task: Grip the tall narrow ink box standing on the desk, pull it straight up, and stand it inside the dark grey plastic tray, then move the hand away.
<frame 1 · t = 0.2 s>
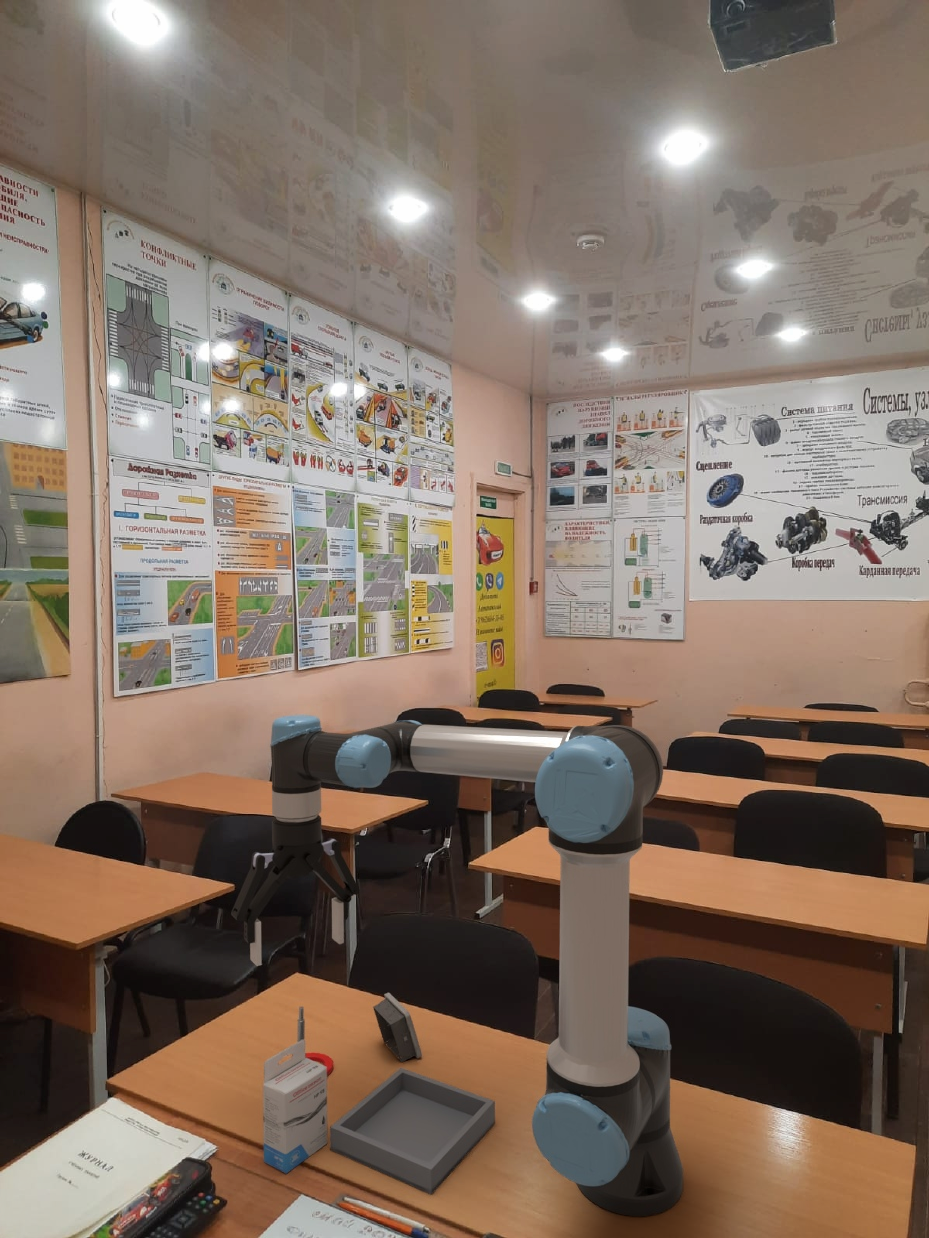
hand: (298, 951, 128), 27 cm above the table, tool pointing down, fingers open, 13 cm apart
ink box: (296, 1153, 121), on the table
tow hook: (308, 1072, 143), on the table
tray: (414, 1136, 125), on the table
electrical switch: (398, 1052, 149), on the table
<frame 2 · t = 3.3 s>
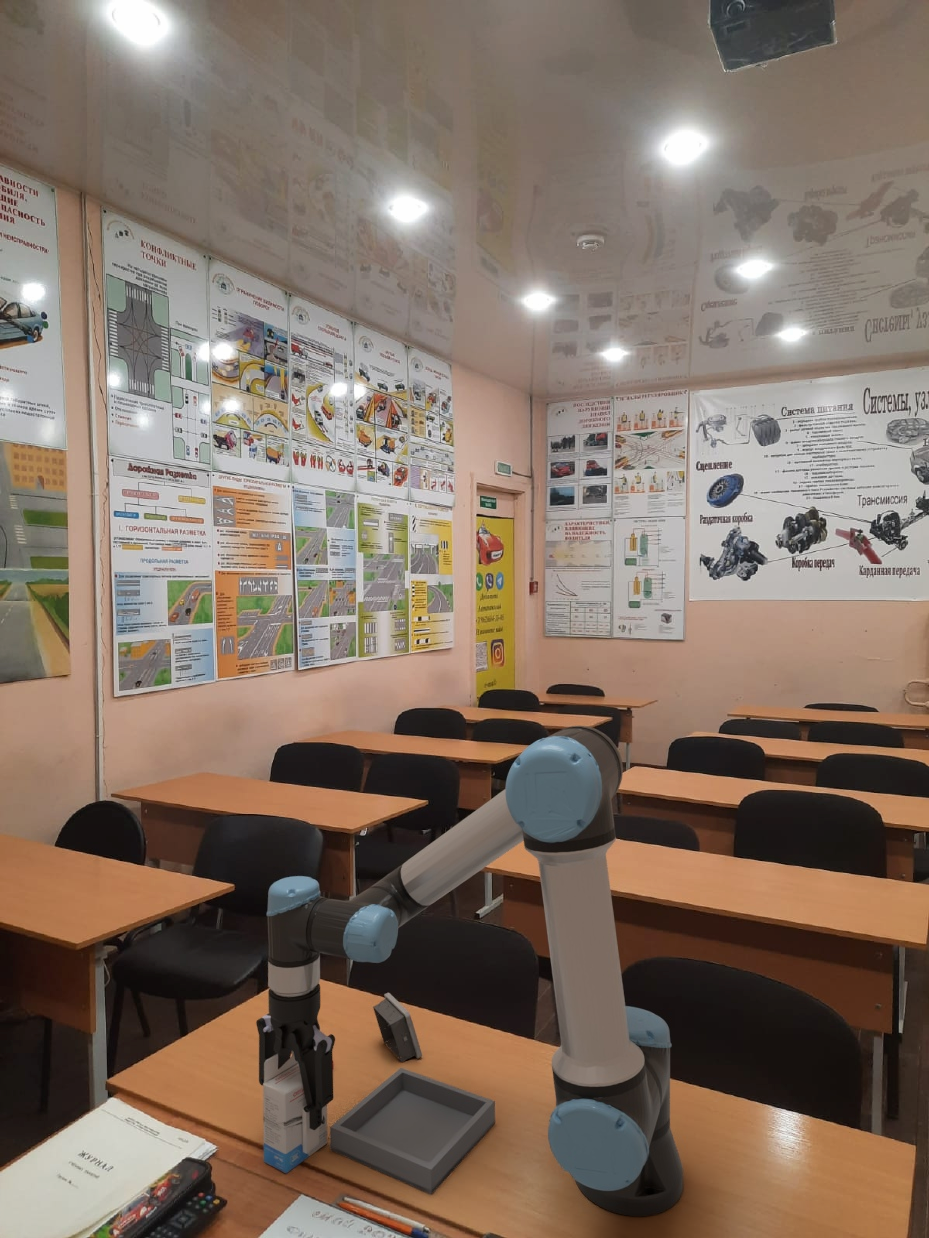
hand: (296, 1140, 121), 2 cm above the table, tool pointing down, fingers closed on ink box, 5 cm apart
ink box: (296, 1153, 121), on the table, touching gripper
everything else where it was.
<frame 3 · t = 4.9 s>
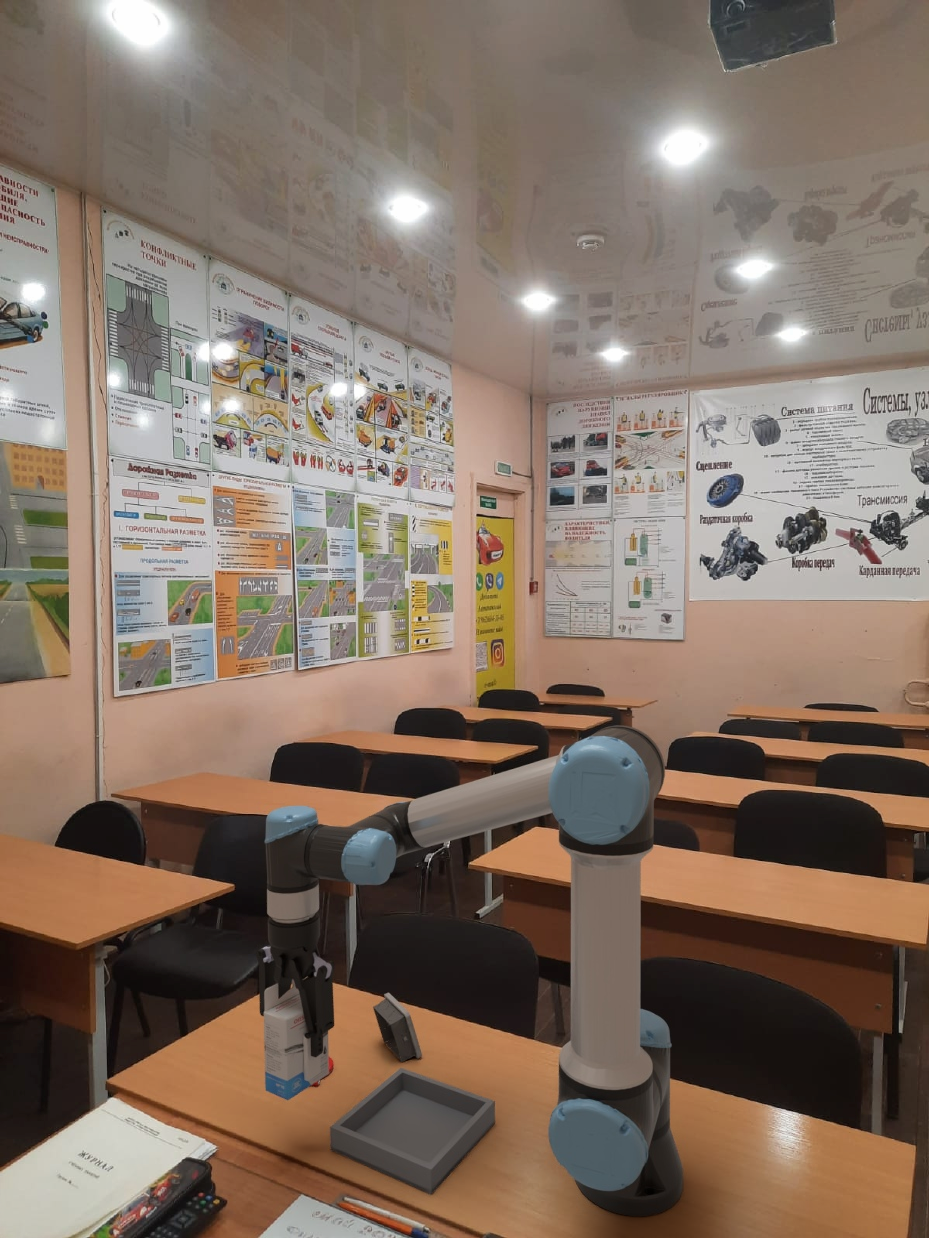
hand: (297, 1069, 121), 12 cm above the table, tool pointing down, fingers closed on ink box, 5 cm apart
ink box: (298, 1083, 121), point 10 cm above the table, touching gripper
everything else where it was.
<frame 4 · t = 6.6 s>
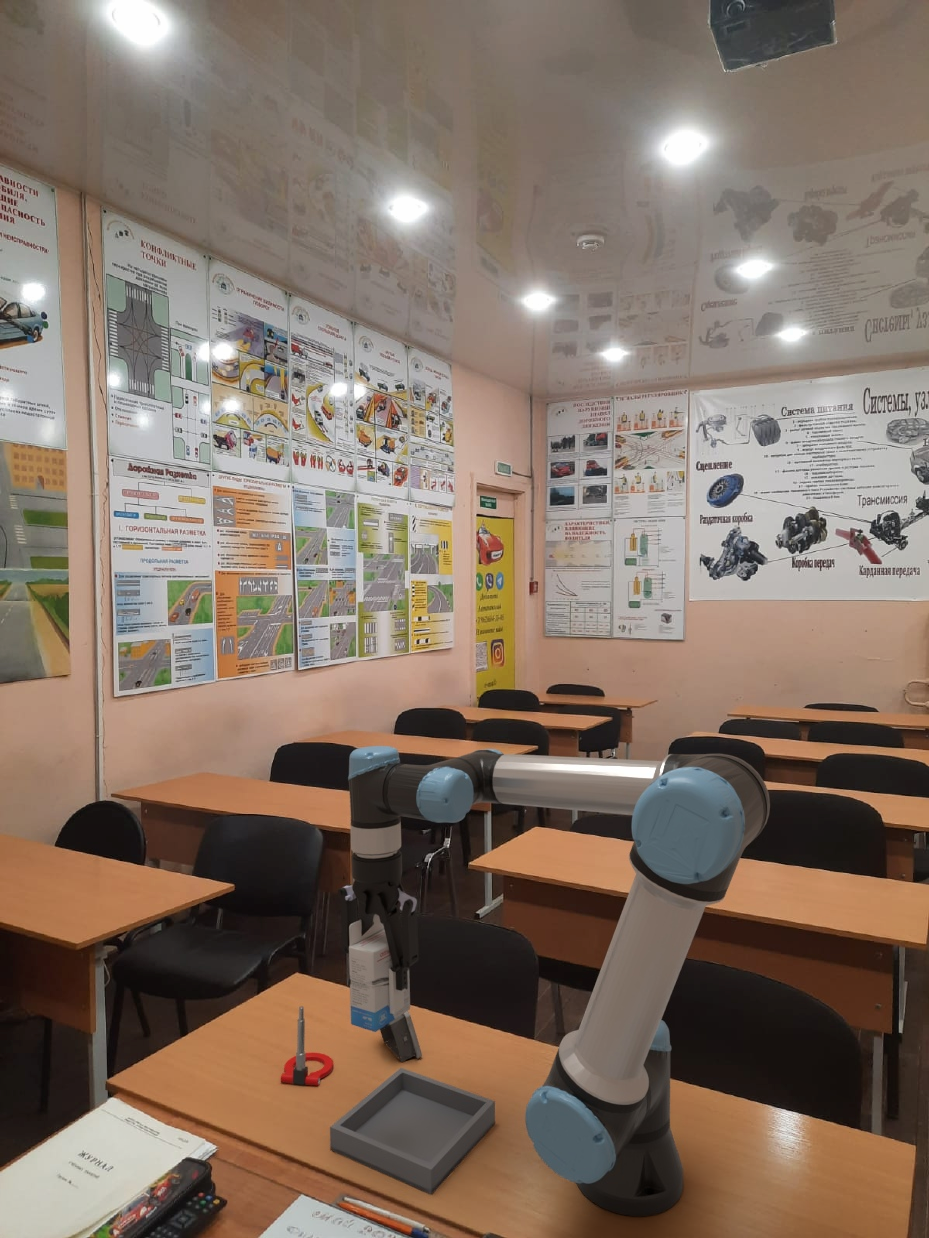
hand: (381, 1005, 123), 21 cm above the table, tool pointing down, fingers closed on ink box, 5 cm apart
ink box: (381, 1018, 123), point 19 cm above the table, touching gripper
everything else where it was.
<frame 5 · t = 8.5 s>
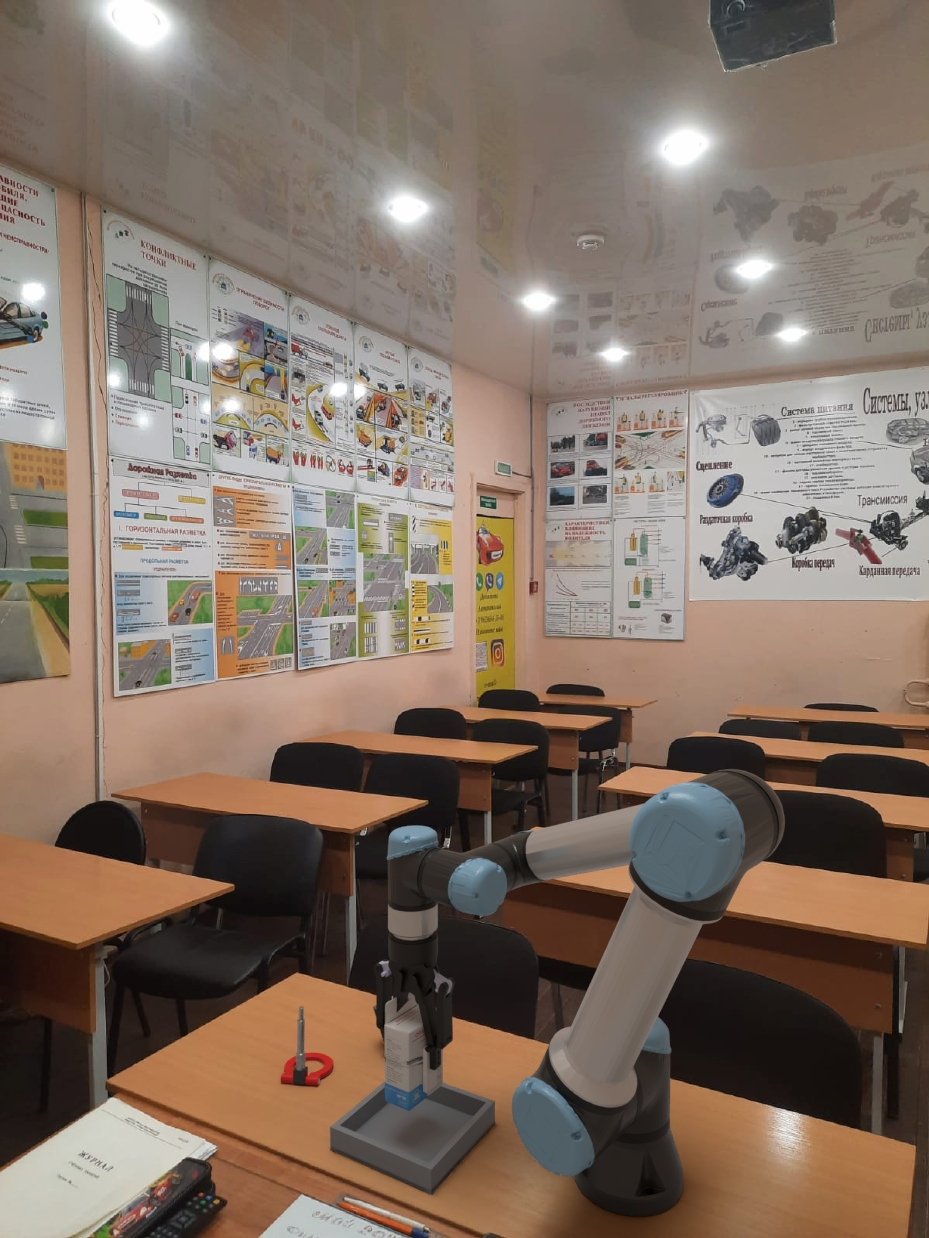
hand: (414, 1081, 125), 8 cm above the table, tool pointing down, fingers closed on ink box, 5 cm apart
ink box: (414, 1094, 125), point 6 cm above the table, touching gripper
everything else where it was.
when the fingers open (4 cm above the table, at t = 10.1 s): ink box drops 1 cm, resting on tray.
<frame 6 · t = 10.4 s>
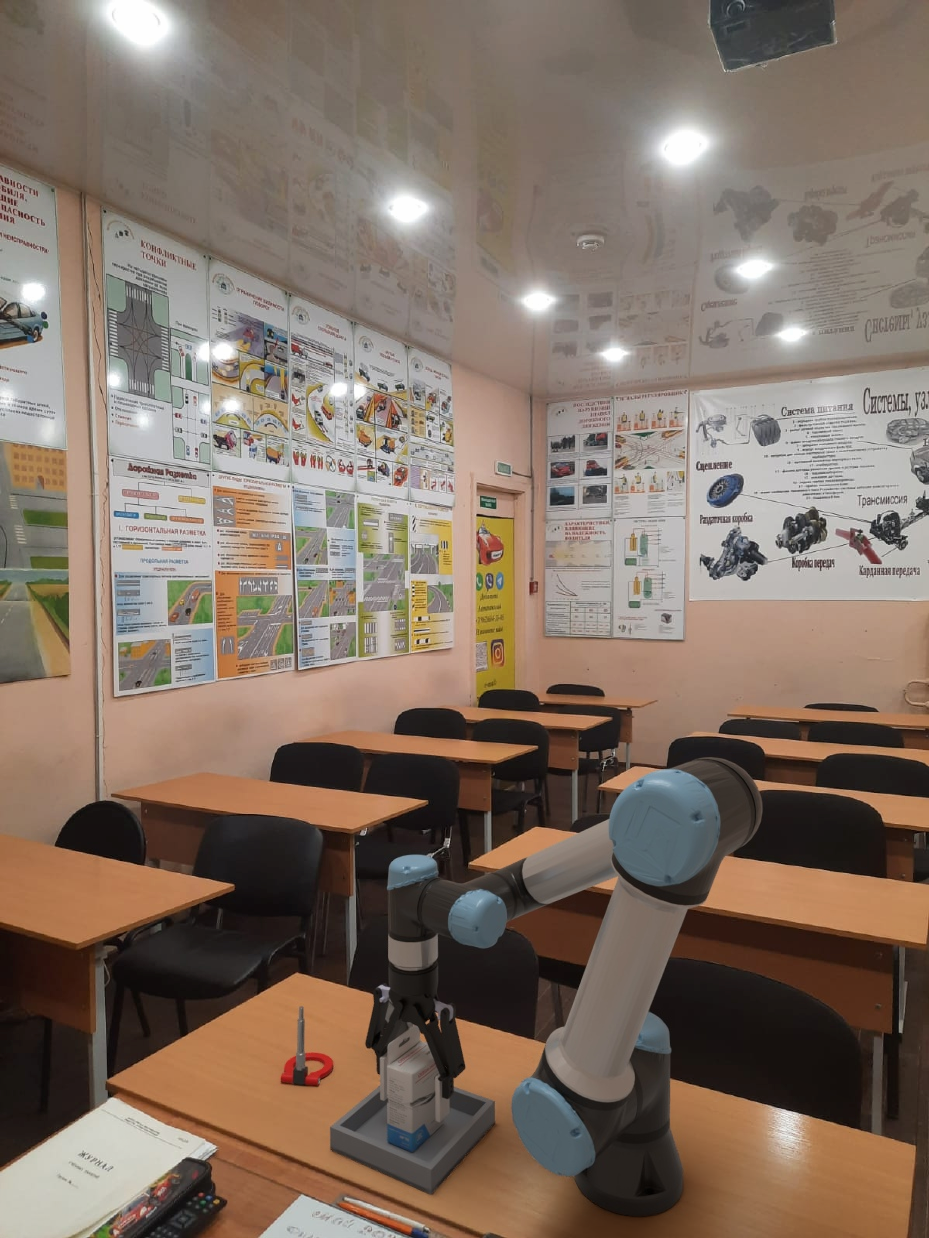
hand: (414, 1105, 125), 5 cm above the table, tool pointing down, fingers open, 9 cm apart
ink box: (416, 1133, 125), resting on tray
everything else where it was.
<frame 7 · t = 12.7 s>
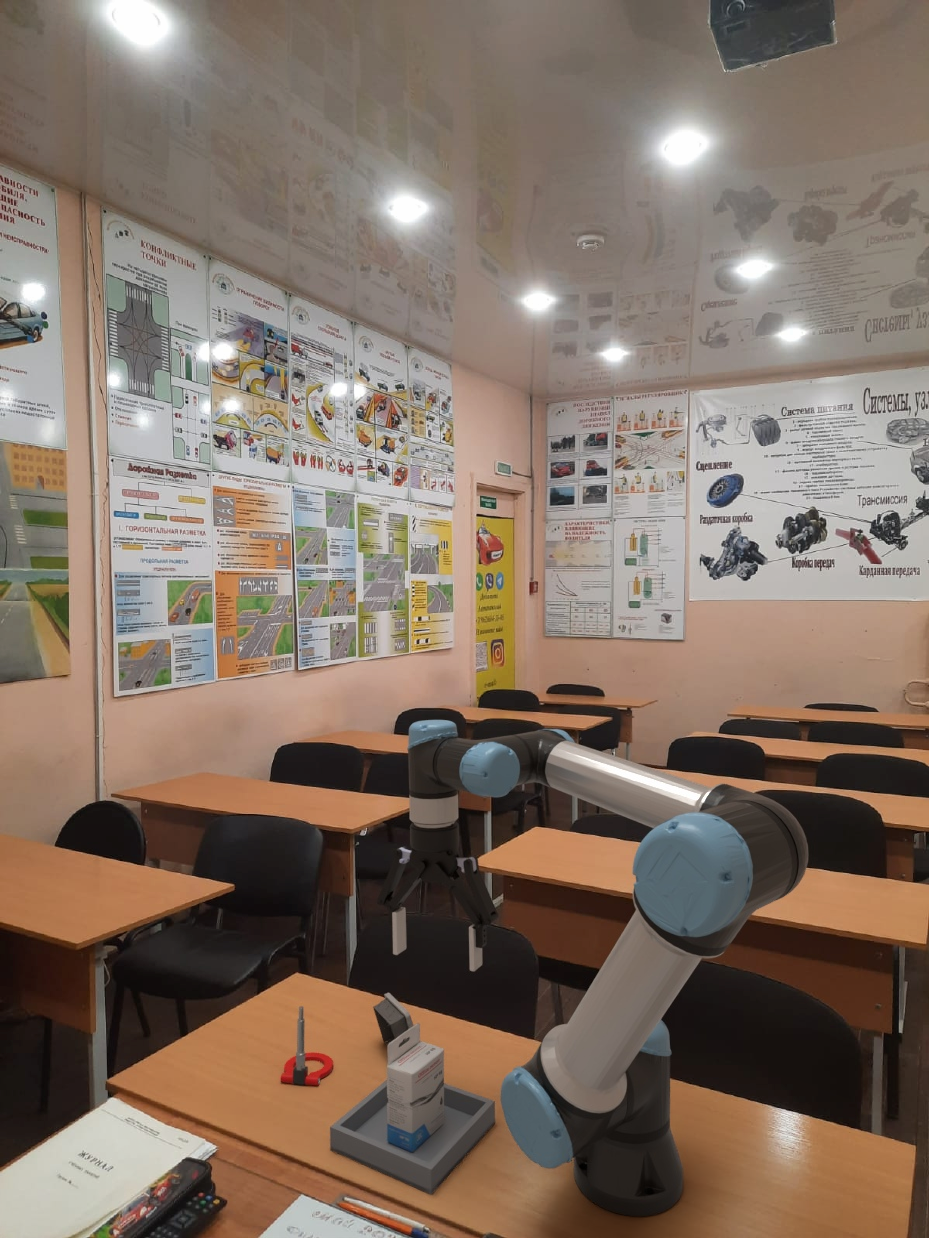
hand: (437, 959, 126), 26 cm above the table, tool pointing down, fingers open, 13 cm apart
nothing on the table moved.
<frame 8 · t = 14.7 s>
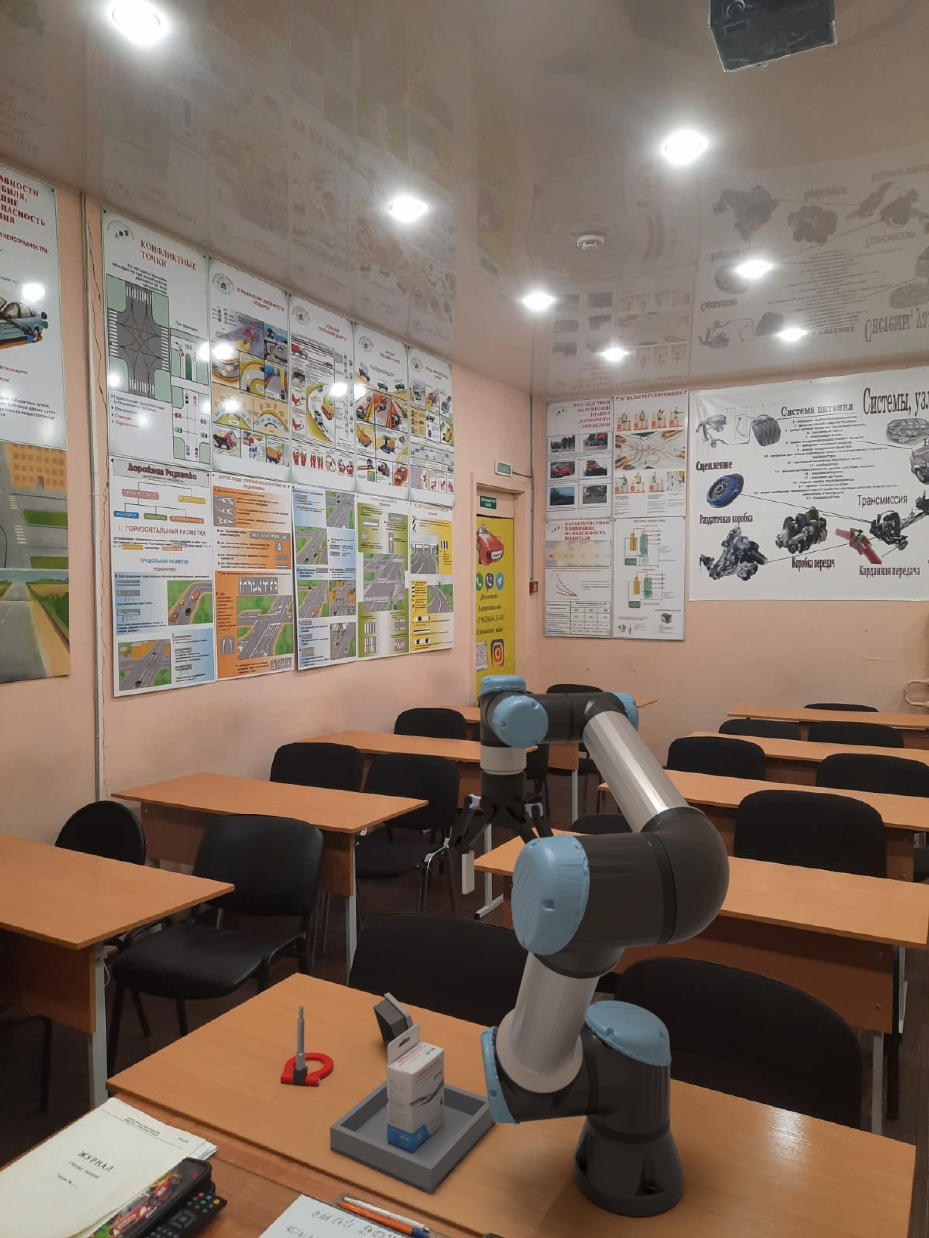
hand: (504, 898, 134), 33 cm above the table, tool pointing down, fingers open, 13 cm apart
nothing on the table moved.
at the end: ink box inside the target area on the tray (0.3 cm from its centre), point 0.4 cm above the tray's base; ink box tilted 0°; the gripper is holding nothing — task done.
